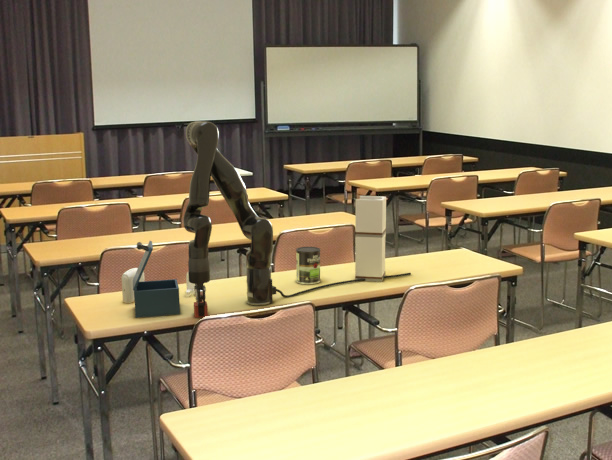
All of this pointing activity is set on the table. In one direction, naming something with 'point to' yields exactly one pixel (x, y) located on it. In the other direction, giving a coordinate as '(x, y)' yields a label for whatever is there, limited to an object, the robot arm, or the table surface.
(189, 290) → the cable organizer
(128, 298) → the photo printer
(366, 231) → the tall white pillar box
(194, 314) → the block
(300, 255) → the coffee can
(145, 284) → the box
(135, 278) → the freezer lid
